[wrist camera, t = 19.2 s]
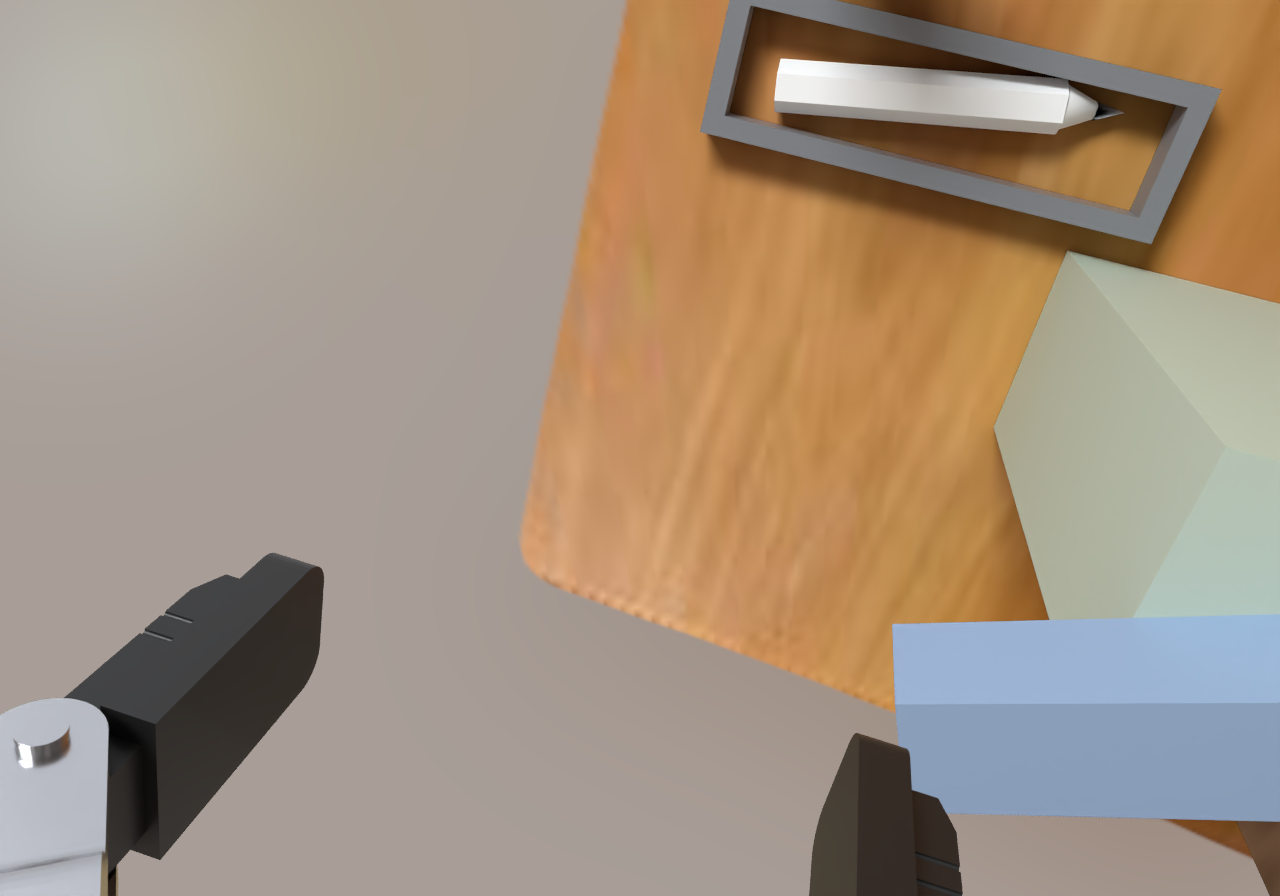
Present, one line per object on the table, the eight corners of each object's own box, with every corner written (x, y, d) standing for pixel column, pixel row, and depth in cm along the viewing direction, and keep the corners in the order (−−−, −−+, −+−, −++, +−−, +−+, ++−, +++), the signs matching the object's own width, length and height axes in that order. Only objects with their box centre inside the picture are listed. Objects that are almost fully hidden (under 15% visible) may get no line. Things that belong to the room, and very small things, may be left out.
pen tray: (739, -22, 46) (734, -23, 44) (1209, 86, 43) (1221, 89, 42) (705, 127, 49) (699, 131, 47) (1141, 236, 47) (1151, 244, 45)
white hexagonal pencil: (1115, 112, 46) (779, 89, 48) (1131, 72, 44) (781, 51, 47) (1120, 147, 44) (772, 121, 47) (1136, 107, 42) (775, 83, 45)
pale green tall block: (1067, 250, 48) (1226, 446, 26) (1316, 313, 46) (1694, 573, 25) (993, 427, 52) (1078, 718, 31) (1218, 489, 51) (1469, 837, 30)
